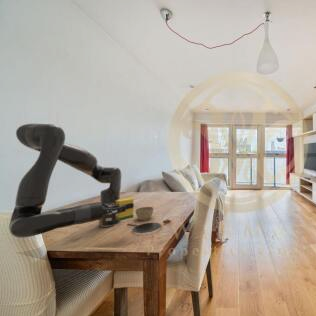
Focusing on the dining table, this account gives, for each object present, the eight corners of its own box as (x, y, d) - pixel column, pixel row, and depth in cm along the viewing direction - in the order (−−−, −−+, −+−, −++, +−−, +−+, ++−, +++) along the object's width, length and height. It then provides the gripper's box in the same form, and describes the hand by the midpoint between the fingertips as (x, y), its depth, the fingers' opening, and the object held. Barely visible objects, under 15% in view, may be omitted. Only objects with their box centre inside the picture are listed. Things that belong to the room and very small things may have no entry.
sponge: (115, 218, 85) (115, 200, 85) (129, 215, 90) (129, 197, 90) (119, 220, 83) (119, 201, 83) (133, 217, 87) (133, 199, 87)
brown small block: (163, 224, 106) (163, 220, 106) (167, 222, 108) (167, 219, 108) (165, 225, 104) (166, 221, 104) (170, 223, 106) (170, 220, 106)
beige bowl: (146, 223, 106) (146, 211, 106) (131, 222, 108) (131, 210, 108) (156, 218, 116) (156, 207, 116) (143, 217, 118) (143, 206, 118)
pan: (115, 231, 95) (115, 228, 95) (137, 222, 108) (137, 219, 108) (148, 236, 89) (148, 233, 89) (166, 226, 103) (166, 223, 103)
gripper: (92, 207, 70) (138, 199, 84) (81, 201, 79) (124, 195, 93) (92, 226, 71) (137, 214, 84) (81, 218, 79) (124, 209, 93)
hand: (130, 204), depth 88 cm, fingers closed on sponge, 4 cm apart
